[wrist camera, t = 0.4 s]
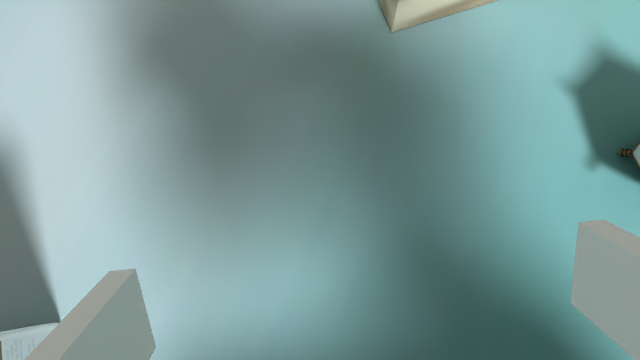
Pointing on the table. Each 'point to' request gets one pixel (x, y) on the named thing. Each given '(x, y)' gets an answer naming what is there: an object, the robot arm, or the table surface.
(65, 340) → the robot arm
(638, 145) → the game die
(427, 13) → the birch board
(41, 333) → the syrup box
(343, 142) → the table surface
